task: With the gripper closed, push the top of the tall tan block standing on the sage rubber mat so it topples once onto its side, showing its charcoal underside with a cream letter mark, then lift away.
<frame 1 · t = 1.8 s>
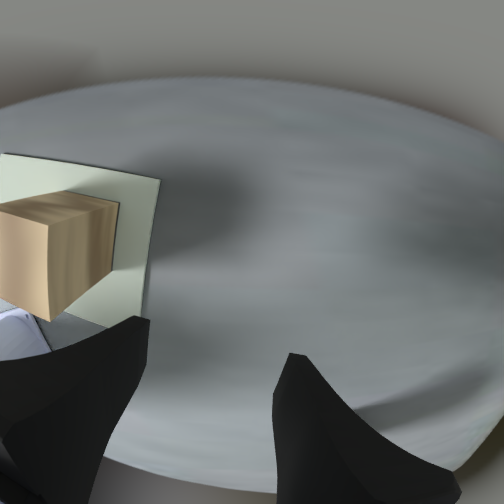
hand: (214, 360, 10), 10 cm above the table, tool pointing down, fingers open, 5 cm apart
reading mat: (57, 239, 19), on the table
tan block: (86, 230, 19), resting on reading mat
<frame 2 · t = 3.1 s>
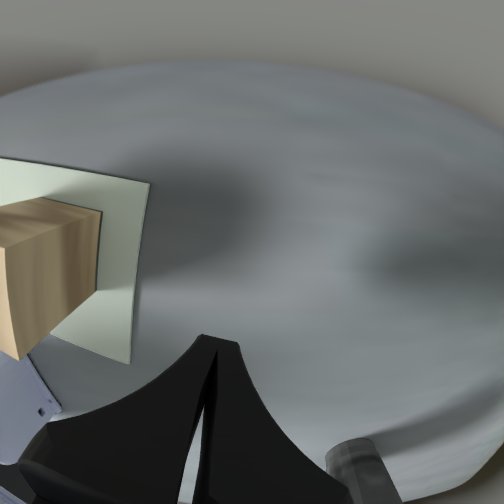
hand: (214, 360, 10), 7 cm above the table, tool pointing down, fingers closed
beverage cup: (349, 451, 21), on the table
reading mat: (36, 253, 16), on the table
tan block: (66, 243, 16), resting on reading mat
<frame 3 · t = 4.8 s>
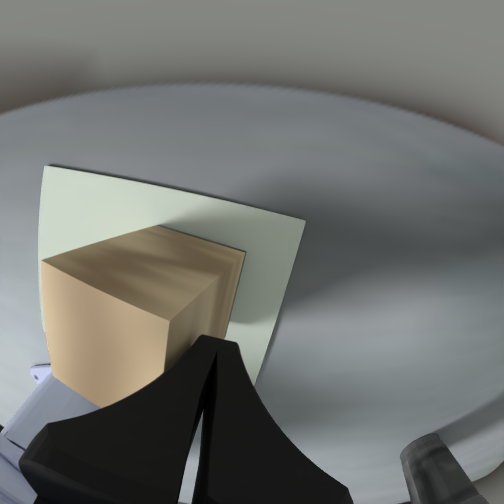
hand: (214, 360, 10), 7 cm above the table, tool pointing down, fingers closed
beverage cup: (418, 446, 22), on the table
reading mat: (142, 287, 17), on the table
tan block: (191, 282, 16), point 1 cm above the table, tilted 12°, touching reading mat
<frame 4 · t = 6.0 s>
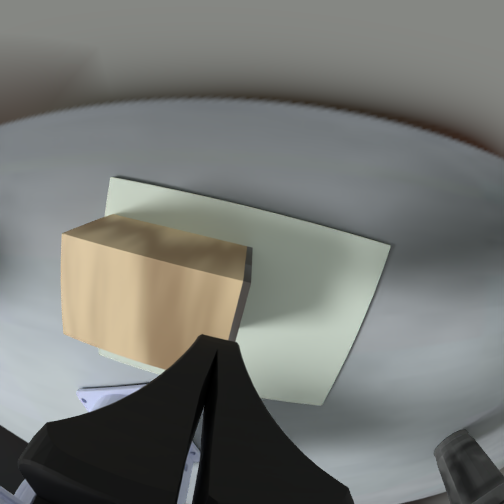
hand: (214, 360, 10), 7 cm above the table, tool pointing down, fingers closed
beverage cup: (450, 442, 22), on the table
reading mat: (227, 309, 17), on the table
tan block: (239, 311, 14), point 3 cm above the table, tilted 90°, touching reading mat
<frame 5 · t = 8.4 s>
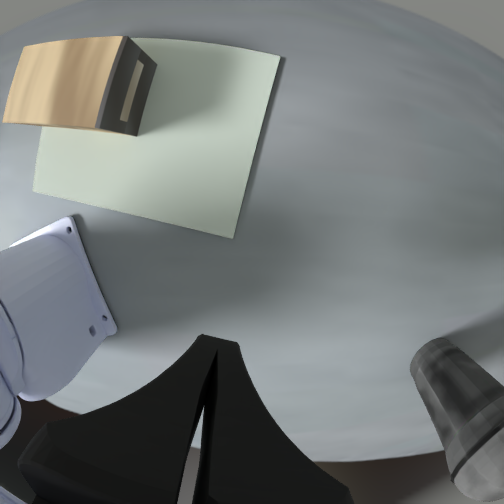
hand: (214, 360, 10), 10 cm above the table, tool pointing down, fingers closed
beverage cup: (430, 358, 22), on the table
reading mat: (135, 121, 17), on the table
tan block: (131, 90, 14), point 3 cm above the table, tilted 90°, touching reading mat
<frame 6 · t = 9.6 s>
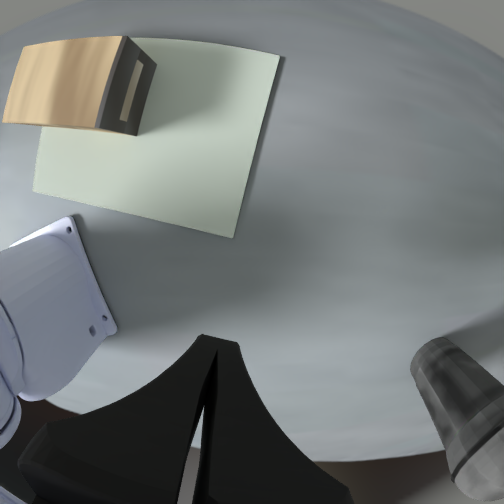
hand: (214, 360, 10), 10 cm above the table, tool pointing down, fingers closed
beverage cup: (430, 358, 22), on the table
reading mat: (135, 121, 17), on the table
tan block: (131, 90, 14), point 3 cm above the table, tilted 90°, touching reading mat
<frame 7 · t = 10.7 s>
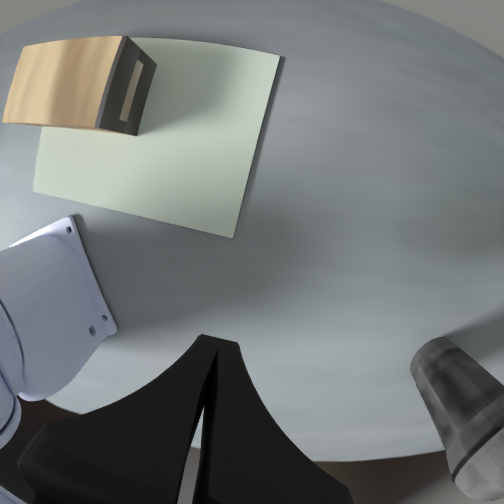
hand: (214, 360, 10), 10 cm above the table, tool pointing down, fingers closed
beverage cup: (430, 358, 22), on the table
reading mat: (135, 121, 17), on the table
tan block: (131, 90, 14), point 3 cm above the table, tilted 90°, touching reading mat
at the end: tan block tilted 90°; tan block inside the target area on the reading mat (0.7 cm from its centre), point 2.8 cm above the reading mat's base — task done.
